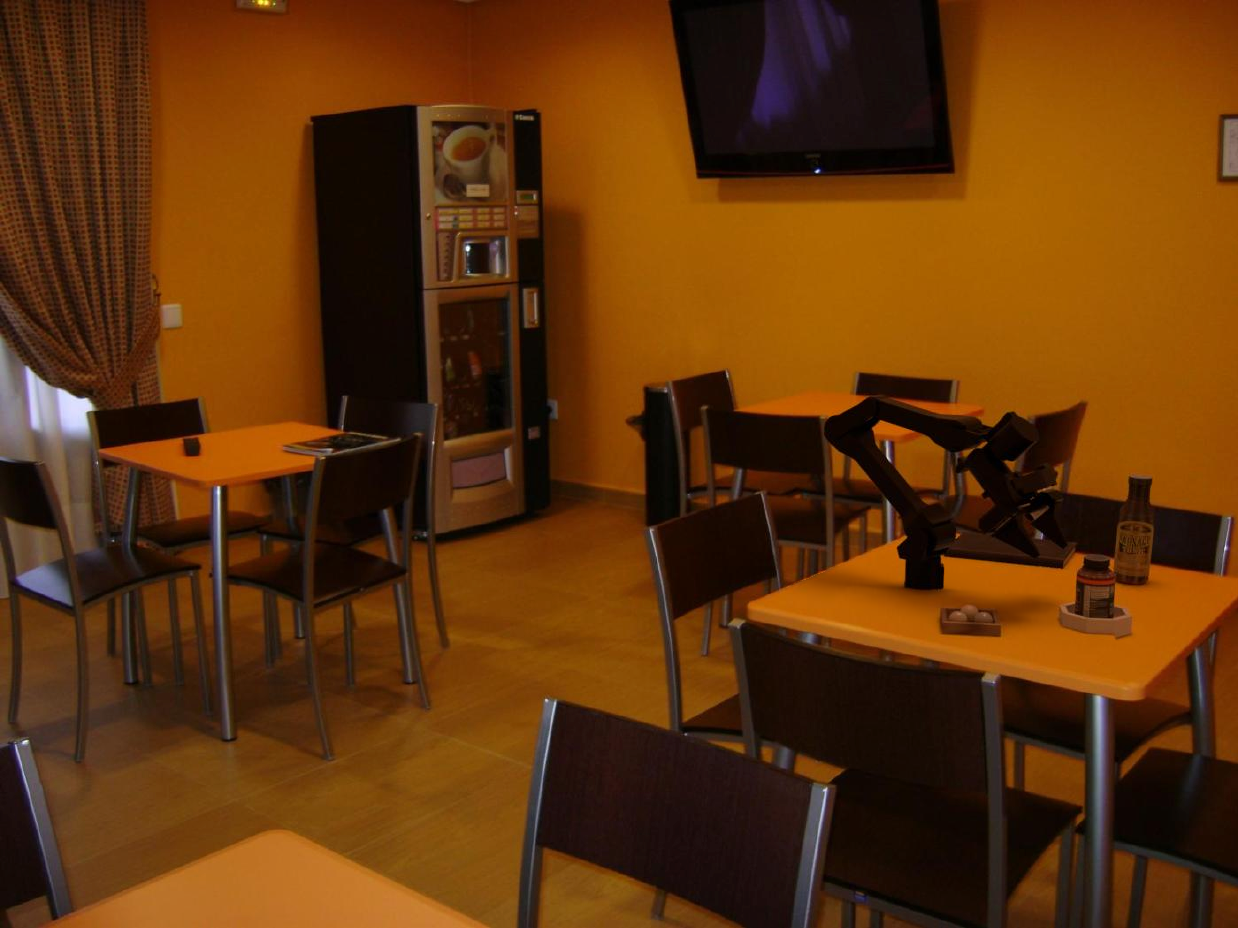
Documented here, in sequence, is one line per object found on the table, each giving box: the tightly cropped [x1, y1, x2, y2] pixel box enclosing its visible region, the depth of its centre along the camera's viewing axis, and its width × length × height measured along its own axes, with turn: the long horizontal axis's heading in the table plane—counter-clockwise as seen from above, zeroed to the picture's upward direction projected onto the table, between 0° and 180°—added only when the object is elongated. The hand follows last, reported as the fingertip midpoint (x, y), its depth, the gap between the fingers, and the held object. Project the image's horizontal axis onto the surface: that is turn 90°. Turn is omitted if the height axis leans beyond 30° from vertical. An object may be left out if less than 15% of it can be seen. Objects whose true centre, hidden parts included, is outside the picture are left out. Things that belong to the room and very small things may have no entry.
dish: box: [1058, 600, 1133, 639], centre depth 208 cm, size 11×11×3 cm
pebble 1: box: [948, 611, 968, 622], centre depth 206 cm, size 3×3×3 cm
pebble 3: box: [974, 612, 993, 623], centre depth 205 cm, size 3×3×3 cm
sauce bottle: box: [1112, 474, 1156, 585], centre depth 234 cm, size 7×6×20 cm
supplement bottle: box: [1074, 553, 1116, 619], centre depth 207 cm, size 6×6×11 cm
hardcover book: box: [943, 531, 1078, 570], centre depth 257 cm, size 16×23×2 cm
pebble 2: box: [960, 604, 979, 622], centre depth 209 cm, size 3×3×3 cm
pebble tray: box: [939, 606, 1002, 637], centre depth 207 cm, size 9×9×3 cm
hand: (1052, 552), depth 212 cm, fingers open, 9 cm apart
